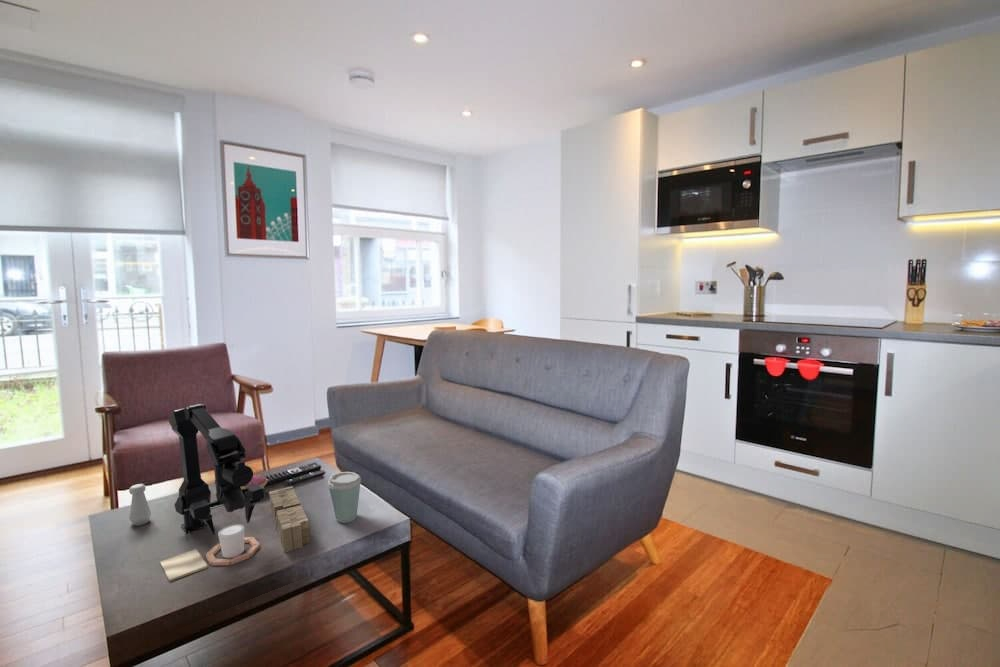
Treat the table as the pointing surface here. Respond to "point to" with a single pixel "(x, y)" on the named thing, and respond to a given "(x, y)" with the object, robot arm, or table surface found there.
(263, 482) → the cupcake
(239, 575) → the table surface
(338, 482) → the disposable coffee cup
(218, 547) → the ring coaster
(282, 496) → the block tower
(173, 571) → the beige flat pad
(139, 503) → the salt shaker
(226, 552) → the white cylinder
